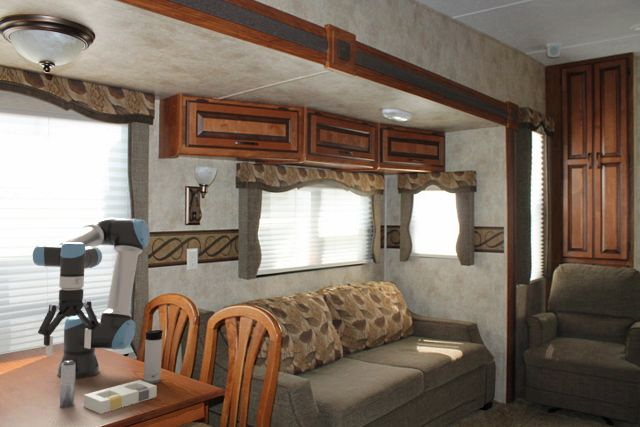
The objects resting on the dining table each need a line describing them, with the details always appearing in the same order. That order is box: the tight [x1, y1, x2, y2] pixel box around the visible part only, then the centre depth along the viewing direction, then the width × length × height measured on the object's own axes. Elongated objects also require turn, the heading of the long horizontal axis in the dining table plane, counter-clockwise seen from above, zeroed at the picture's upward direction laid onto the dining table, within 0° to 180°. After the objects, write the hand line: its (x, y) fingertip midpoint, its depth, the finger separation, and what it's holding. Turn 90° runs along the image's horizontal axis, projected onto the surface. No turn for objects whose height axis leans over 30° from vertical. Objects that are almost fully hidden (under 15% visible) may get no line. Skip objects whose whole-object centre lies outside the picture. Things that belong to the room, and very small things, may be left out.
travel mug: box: [143, 329, 164, 385], centre depth 214 cm, size 6×7×20 cm
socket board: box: [83, 379, 158, 415], centre depth 191 cm, size 10×22×4 cm, turn 145°
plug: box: [59, 360, 76, 409], centre depth 185 cm, size 4×4×15 cm
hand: (68, 351), depth 185 cm, fingers open, 13 cm apart
